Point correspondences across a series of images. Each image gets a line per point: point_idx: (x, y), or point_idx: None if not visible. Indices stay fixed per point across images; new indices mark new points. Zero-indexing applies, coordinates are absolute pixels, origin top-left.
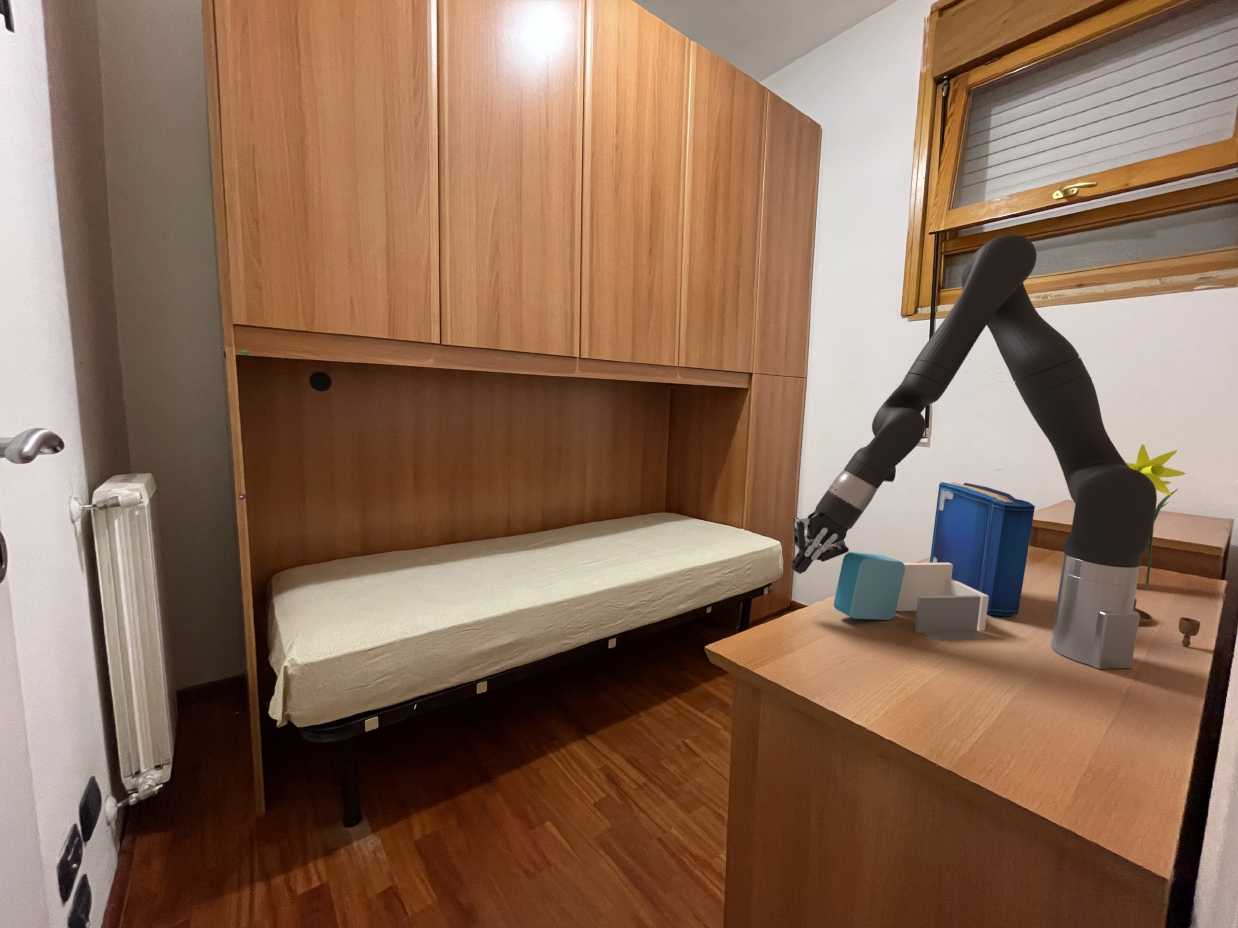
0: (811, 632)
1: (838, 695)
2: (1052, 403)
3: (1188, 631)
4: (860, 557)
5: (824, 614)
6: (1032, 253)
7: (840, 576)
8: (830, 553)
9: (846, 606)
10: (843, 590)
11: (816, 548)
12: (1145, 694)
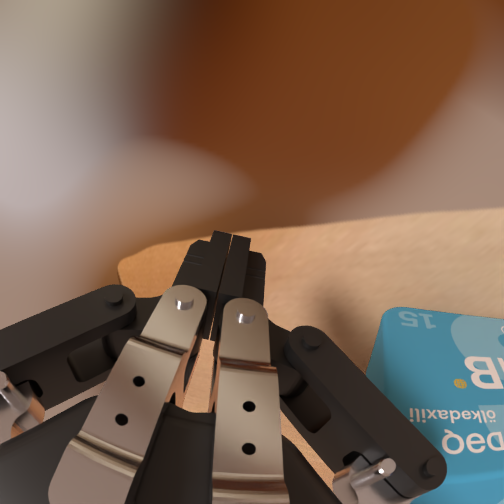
0: (274, 307)
1: (189, 400)
2: None
3: None
4: None
5: (395, 261)
6: None
7: (381, 384)
8: (303, 434)
9: (369, 363)
10: (375, 373)
11: (210, 399)
12: None
